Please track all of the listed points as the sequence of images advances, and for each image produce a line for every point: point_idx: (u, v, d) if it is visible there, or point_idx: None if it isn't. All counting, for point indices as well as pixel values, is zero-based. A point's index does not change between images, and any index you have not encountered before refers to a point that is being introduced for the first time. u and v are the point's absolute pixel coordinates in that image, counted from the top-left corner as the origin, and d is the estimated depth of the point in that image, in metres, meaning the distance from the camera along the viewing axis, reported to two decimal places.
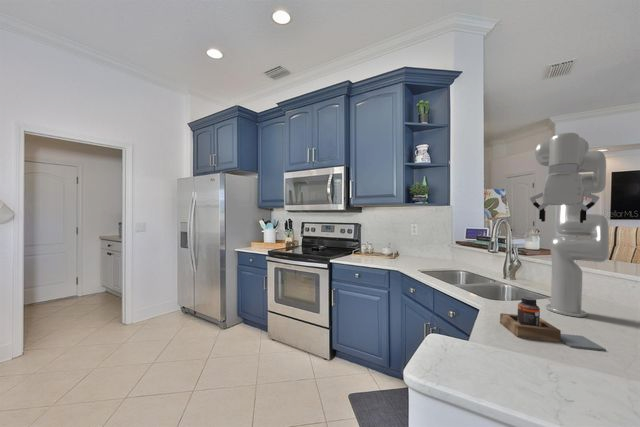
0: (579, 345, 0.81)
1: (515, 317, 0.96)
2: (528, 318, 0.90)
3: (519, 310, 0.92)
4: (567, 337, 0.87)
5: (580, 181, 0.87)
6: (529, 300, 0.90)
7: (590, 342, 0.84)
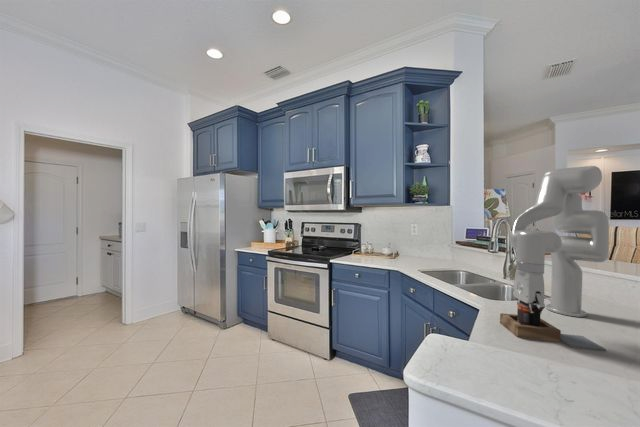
0: (579, 345, 0.81)
1: (515, 317, 0.96)
2: None
3: (519, 310, 0.92)
4: (567, 337, 0.87)
5: None
6: None
7: (590, 342, 0.84)
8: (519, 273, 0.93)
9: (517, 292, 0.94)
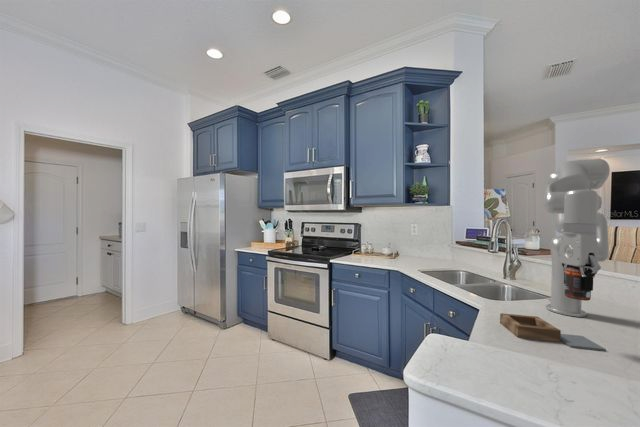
0: (579, 345, 0.81)
1: (515, 317, 0.96)
2: None
3: (568, 275, 0.85)
4: (567, 337, 0.87)
5: None
6: None
7: (590, 342, 0.84)
8: (567, 236, 0.87)
9: (565, 256, 0.87)
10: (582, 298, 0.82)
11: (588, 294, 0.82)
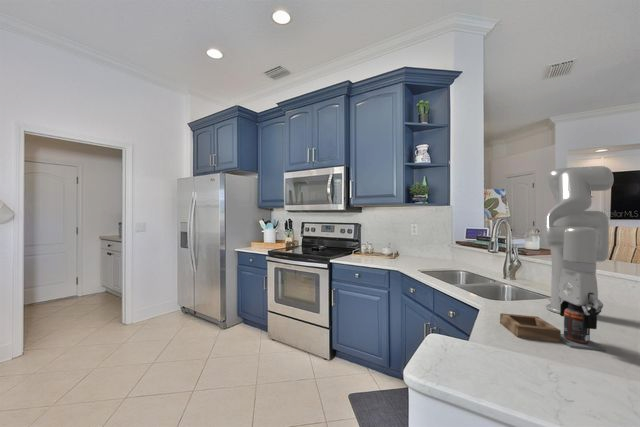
0: (579, 345, 0.81)
1: (515, 317, 0.96)
2: (578, 326, 0.83)
3: (567, 317, 0.85)
4: None
5: None
6: (578, 306, 0.84)
7: (590, 342, 0.84)
8: (566, 273, 0.86)
9: (564, 293, 0.87)
10: (581, 341, 0.82)
11: (586, 337, 0.82)
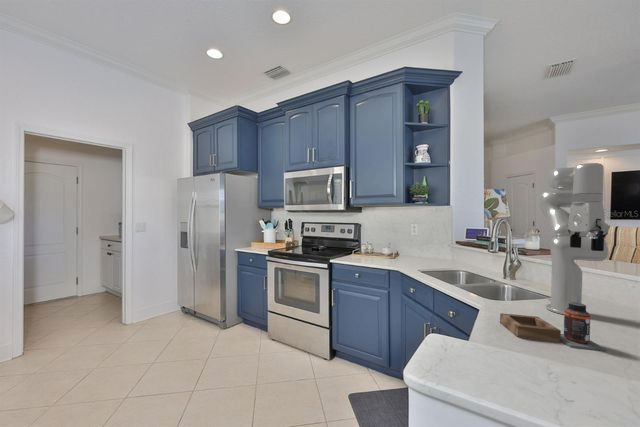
0: (579, 345, 0.81)
1: (515, 317, 0.96)
2: (578, 326, 0.83)
3: (567, 317, 0.85)
4: None
5: None
6: (578, 306, 0.84)
7: (590, 342, 0.84)
8: (576, 206, 0.96)
9: (574, 224, 0.96)
10: (581, 341, 0.82)
11: (586, 337, 0.82)
